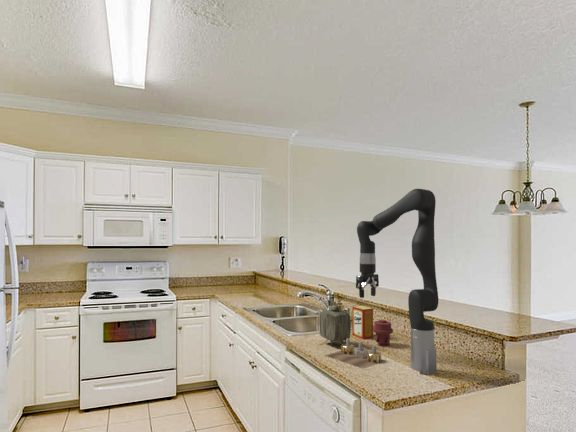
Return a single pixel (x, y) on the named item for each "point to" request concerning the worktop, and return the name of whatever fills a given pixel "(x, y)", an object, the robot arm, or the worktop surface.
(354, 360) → the gear board
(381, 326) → the mechanical component
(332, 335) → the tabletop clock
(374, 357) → the gear
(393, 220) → the robot arm
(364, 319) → the baking soda box
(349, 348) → the gear
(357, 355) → the steel gear
